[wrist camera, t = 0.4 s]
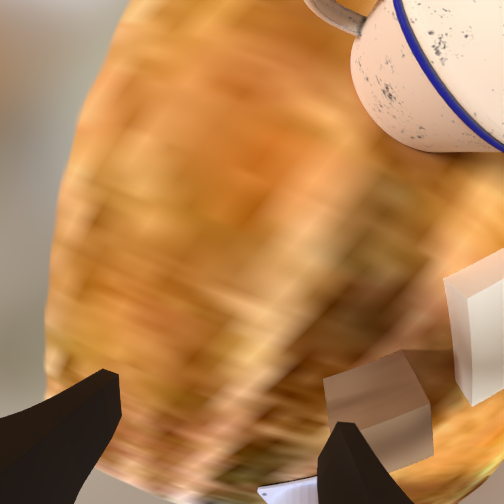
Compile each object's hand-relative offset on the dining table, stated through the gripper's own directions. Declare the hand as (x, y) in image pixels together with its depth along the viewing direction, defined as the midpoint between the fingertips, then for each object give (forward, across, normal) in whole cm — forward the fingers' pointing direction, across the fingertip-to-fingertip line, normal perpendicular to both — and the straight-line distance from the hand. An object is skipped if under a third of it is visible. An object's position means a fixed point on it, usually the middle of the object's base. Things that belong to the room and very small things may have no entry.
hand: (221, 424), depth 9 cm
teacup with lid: (+10, -6, -15) cm, 19 cm away
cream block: (+10, -18, -3) cm, 20 cm away
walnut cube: (+10, -9, +5) cm, 15 cm away
